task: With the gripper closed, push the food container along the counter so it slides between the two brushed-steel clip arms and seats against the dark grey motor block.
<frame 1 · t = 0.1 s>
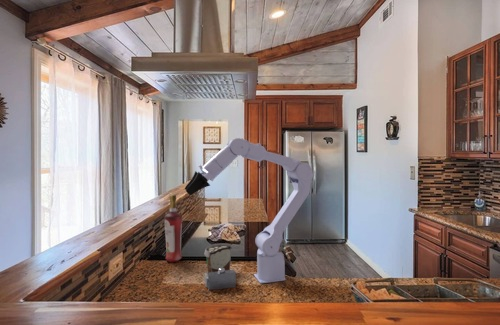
hand: (187, 191, 97), 32 cm above the table, tool tilted 50°, fingers open, 7 cm apart
food container: (215, 273, 110), on the table
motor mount: (220, 284, 100), on the table
liquor: (173, 260, 124), on the table
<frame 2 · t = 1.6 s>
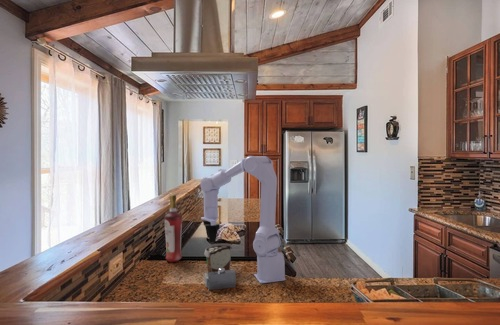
hand: (211, 239, 120), 10 cm above the table, tool pointing down, fingers open, 7 cm apart
nothing on the table moved.
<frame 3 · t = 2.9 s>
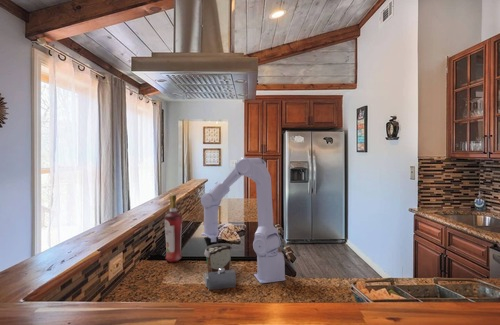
hand: (211, 254, 120), 3 cm above the table, tool pointing down, fingers closed
nothing on the table moved.
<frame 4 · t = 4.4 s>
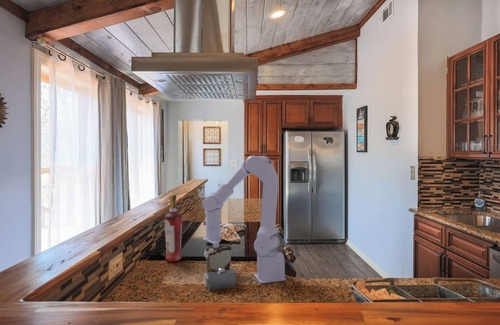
hand: (213, 260, 114), 3 cm above the table, tool pointing down, fingers closed
food container: (215, 273, 109), on the table, touching gripper
everything else where it was.
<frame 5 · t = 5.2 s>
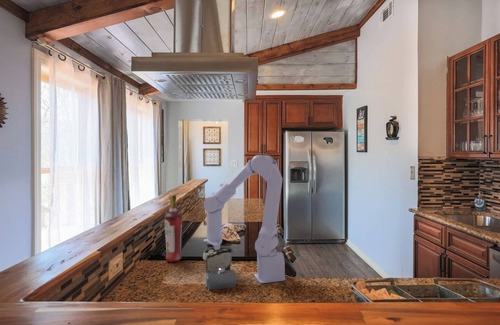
hand: (214, 263, 112), 3 cm above the table, tool pointing down, fingers closed
food container: (214, 275, 107), on the table, touching gripper
everything else where it was.
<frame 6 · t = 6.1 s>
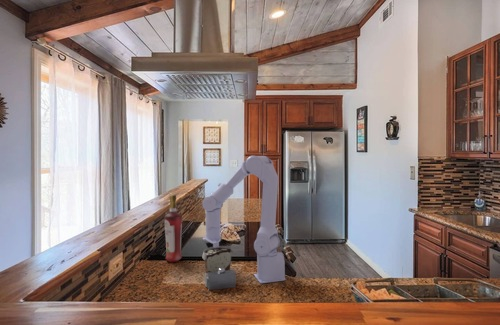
hand: (213, 260, 114), 3 cm above the table, tool pointing down, fingers closed
food container: (214, 276, 107), on the table
everything else where it was.
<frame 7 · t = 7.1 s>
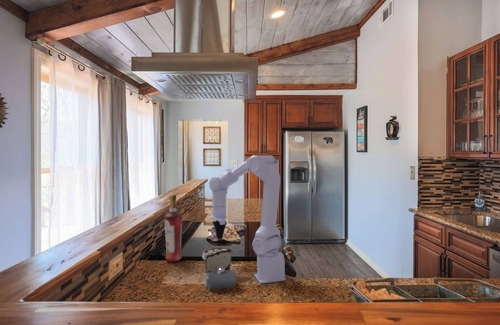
hand: (219, 238, 121), 10 cm above the table, tool pointing down, fingers closed
nothing on the table moved.
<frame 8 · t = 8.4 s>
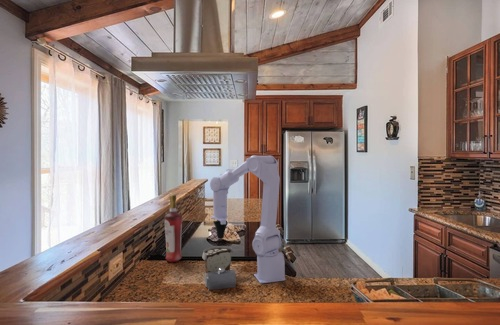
hand: (220, 238, 122), 10 cm above the table, tool pointing down, fingers closed
nothing on the table moved.
at the end: food container 2.2 cm from the target spot, on the table; food container tilted 0°; food container moved 3.0 cm from its start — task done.
